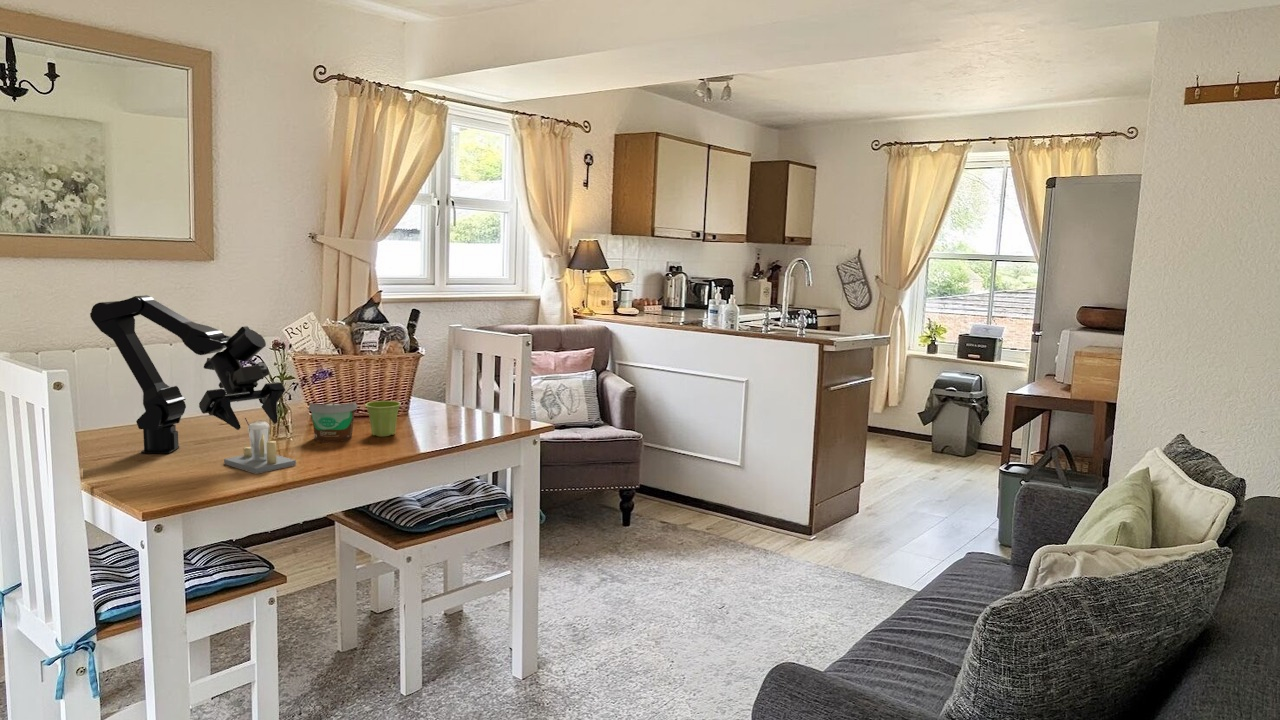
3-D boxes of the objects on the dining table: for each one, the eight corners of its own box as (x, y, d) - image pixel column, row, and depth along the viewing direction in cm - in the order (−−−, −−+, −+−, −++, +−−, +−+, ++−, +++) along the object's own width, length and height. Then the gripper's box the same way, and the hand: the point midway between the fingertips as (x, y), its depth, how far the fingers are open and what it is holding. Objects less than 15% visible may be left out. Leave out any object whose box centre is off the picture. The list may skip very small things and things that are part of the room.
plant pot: (365, 439, 223) (365, 407, 222) (365, 431, 232) (365, 400, 231) (401, 437, 226) (401, 406, 225) (400, 430, 235) (400, 400, 234)
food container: (306, 443, 216) (305, 405, 214) (309, 438, 222) (308, 401, 220) (356, 442, 219) (355, 405, 218) (357, 436, 225) (357, 400, 224)
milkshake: (250, 456, 196) (248, 415, 194) (273, 456, 196) (272, 416, 195) (242, 462, 192) (240, 420, 190) (266, 462, 192) (264, 420, 190)
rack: (224, 463, 194) (223, 438, 193) (263, 455, 202) (263, 431, 201) (256, 473, 187) (255, 447, 186) (295, 465, 195) (295, 439, 194)
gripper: (204, 355, 186) (232, 410, 181) (280, 349, 201) (308, 400, 197) (187, 385, 191) (213, 439, 187) (262, 377, 207) (289, 427, 202)
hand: (258, 425), depth 193 cm, fingers open, 9 cm apart
